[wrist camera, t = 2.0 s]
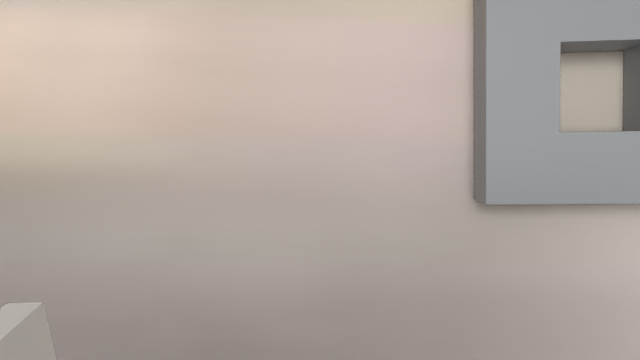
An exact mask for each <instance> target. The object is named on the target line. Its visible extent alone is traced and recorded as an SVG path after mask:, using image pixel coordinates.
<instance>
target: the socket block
mask: <svg viewBox="0 0 640 360" xmlns="http://www.w3.org/2000/svg"><path fill="white" fill-rule="evenodd" d="M599 51H624V72H623V131H611V132H560V53H565V52H599ZM474 199H475V200H478V201H480V202H482V203H484V204H486V205H510V204H640V0H474Z"/></svg>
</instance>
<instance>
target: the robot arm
mask: <svg viewBox="0 0 640 360" xmlns="http://www.w3.org/2000/svg"><path fill="white" fill-rule="evenodd" d="M0 360H56V356H55V351H54V347H53V343H52V338H51V334H50V330H49V325H48V321H47V317H46V312H45V308H44V304H43V302H33V303H7V304H6V305H4V306H3V307H2V308H1V309H0Z"/></svg>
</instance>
